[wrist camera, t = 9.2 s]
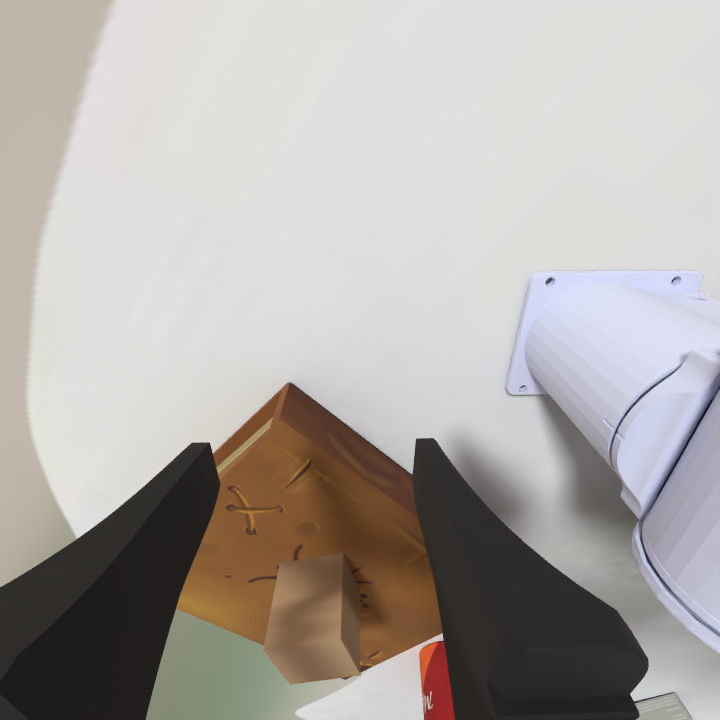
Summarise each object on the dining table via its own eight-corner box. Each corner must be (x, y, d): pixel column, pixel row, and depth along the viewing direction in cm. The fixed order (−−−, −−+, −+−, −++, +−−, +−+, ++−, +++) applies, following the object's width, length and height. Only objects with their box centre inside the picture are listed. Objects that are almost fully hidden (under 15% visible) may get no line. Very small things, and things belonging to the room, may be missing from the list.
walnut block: (343, 552, 24) (340, 638, 20) (359, 589, 26) (360, 675, 22) (279, 562, 25) (263, 649, 20) (300, 598, 27) (290, 684, 22)
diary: (491, 528, 32) (517, 597, 27) (346, 611, 38) (345, 679, 33) (291, 374, 24) (275, 432, 19) (147, 511, 30) (106, 582, 25)
